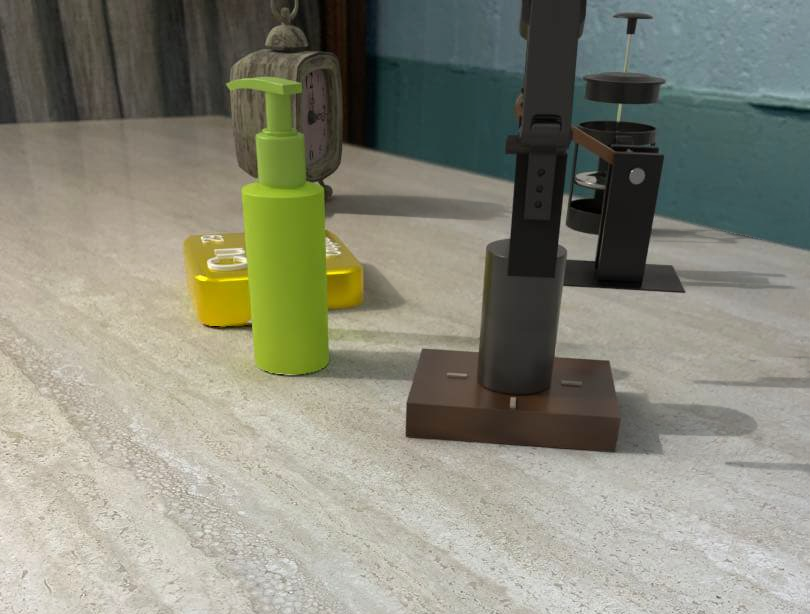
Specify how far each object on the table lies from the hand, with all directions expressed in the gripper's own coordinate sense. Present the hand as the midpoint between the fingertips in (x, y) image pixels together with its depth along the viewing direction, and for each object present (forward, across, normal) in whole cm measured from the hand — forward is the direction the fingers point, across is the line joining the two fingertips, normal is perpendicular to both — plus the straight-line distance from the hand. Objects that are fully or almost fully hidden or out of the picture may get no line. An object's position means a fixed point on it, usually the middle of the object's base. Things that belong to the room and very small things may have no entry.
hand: (530, 244), depth 56 cm
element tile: (+12, -22, -23) cm, 34 cm away
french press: (+12, -52, +10) cm, 54 cm away
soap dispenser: (+12, -7, -18) cm, 23 cm away
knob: (+9, 0, 0) cm, 9 cm away
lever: (0, -32, +4) cm, 32 cm away
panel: (+12, 0, 0) cm, 12 cm away
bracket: (+12, -32, +10) cm, 35 cm away
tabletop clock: (+12, -60, -30) cm, 68 cm away
